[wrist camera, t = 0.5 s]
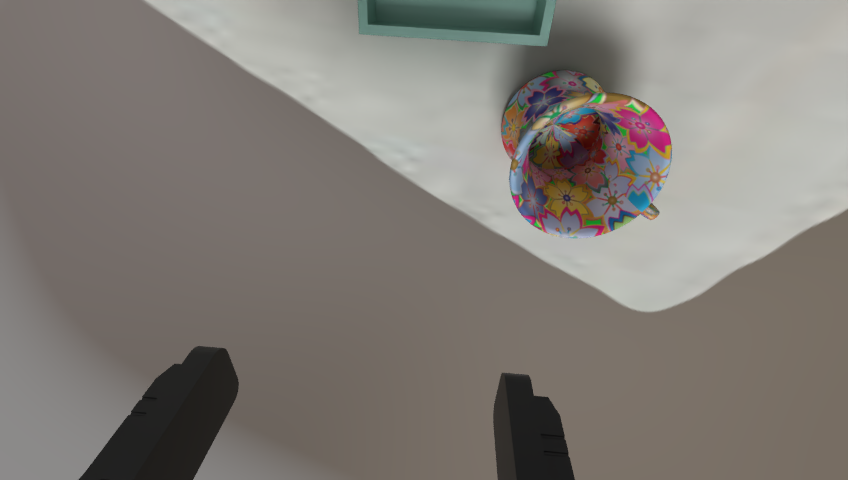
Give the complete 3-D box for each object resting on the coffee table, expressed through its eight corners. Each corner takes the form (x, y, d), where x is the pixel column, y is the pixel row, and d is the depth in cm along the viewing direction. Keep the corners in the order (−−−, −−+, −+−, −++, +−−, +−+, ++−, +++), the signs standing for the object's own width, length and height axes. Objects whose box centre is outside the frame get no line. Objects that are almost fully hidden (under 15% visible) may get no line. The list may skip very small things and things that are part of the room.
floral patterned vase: (473, 138, 33) (479, 192, 24) (548, 35, 29) (589, 57, 20) (577, 208, 36) (616, 279, 27) (660, 125, 32) (739, 179, 23)
